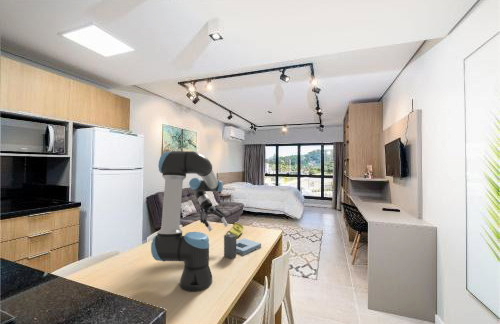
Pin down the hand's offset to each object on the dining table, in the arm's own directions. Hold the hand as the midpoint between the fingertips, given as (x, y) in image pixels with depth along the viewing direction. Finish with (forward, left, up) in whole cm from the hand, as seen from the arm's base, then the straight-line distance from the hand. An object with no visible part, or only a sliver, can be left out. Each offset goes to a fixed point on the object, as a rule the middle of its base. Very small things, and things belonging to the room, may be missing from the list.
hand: (219, 228), depth 143 cm
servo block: (0, -11, -16) cm, 19 cm away
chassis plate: (+16, -8, -15) cm, 24 cm away
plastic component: (+32, +17, -16) cm, 40 cm away
